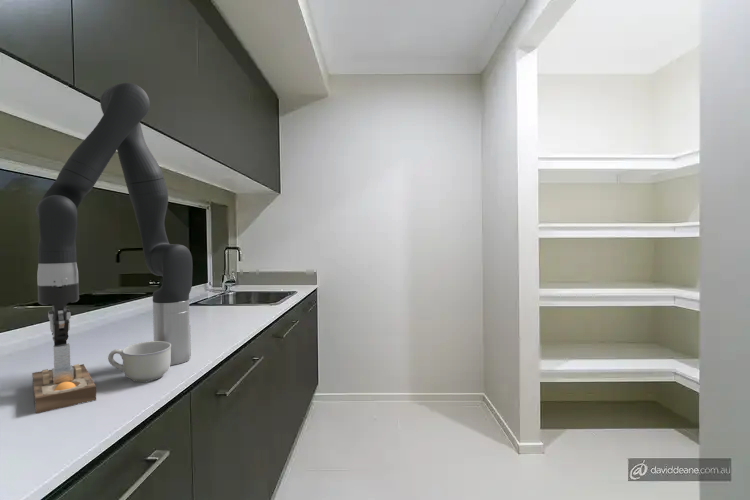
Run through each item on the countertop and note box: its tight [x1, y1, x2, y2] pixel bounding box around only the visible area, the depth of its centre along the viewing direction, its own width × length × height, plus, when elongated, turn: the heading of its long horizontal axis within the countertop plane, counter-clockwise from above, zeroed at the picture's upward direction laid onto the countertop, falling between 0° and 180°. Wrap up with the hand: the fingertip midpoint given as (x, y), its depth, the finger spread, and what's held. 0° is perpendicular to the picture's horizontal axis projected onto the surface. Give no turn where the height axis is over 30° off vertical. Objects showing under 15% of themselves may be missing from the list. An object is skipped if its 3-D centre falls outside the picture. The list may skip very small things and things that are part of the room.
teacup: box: [107, 340, 171, 383], centre depth 102 cm, size 14×11×8 cm
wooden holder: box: [31, 363, 97, 414], centre depth 93 cm, size 21×10×5 cm, turn 41°
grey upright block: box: [51, 343, 74, 384], centre depth 92 cm, size 4×4×8 cm
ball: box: [54, 382, 76, 391], centre depth 88 cm, size 4×4×4 cm
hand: (60, 356), depth 95 cm, fingers closed
